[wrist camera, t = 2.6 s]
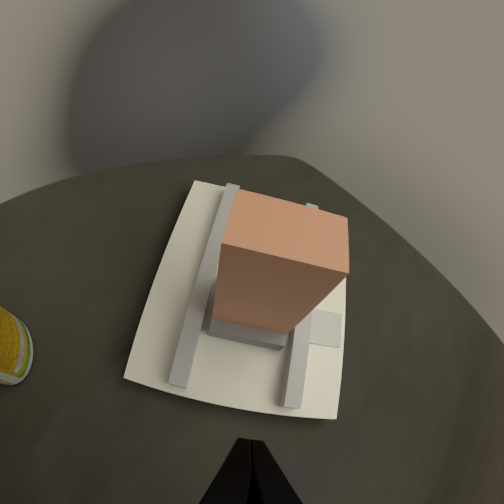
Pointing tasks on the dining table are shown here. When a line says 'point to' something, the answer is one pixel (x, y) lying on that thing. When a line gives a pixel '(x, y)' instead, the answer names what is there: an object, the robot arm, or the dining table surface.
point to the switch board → (226, 351)
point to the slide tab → (275, 268)
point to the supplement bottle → (14, 349)
